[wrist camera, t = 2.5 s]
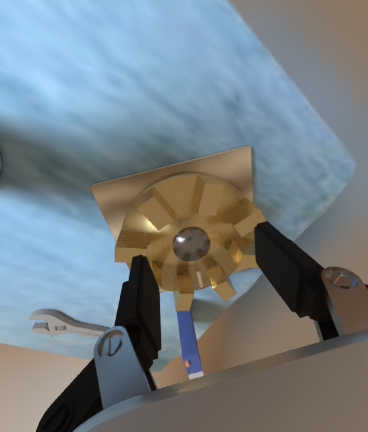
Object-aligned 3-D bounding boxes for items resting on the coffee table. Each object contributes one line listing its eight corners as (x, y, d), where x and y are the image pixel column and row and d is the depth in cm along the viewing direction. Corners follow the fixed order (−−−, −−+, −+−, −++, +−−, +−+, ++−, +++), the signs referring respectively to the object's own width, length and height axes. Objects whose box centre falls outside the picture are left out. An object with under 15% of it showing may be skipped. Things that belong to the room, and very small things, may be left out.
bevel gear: (99, 192, 26) (84, 210, 21) (245, 155, 27) (269, 163, 21) (146, 293, 36) (144, 324, 31) (251, 264, 37) (268, 290, 32)
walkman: (175, 300, 41) (182, 361, 30) (187, 297, 41) (198, 356, 31) (181, 321, 45) (190, 382, 34) (192, 318, 45) (204, 378, 34)
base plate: (93, 184, 27) (89, 187, 26) (246, 145, 28) (251, 146, 27) (143, 291, 38) (142, 298, 37) (252, 261, 39) (256, 266, 38)
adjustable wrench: (148, 332, 46) (148, 340, 44) (135, 347, 48) (135, 354, 46) (39, 304, 36) (33, 312, 35) (28, 323, 38) (23, 331, 37)
